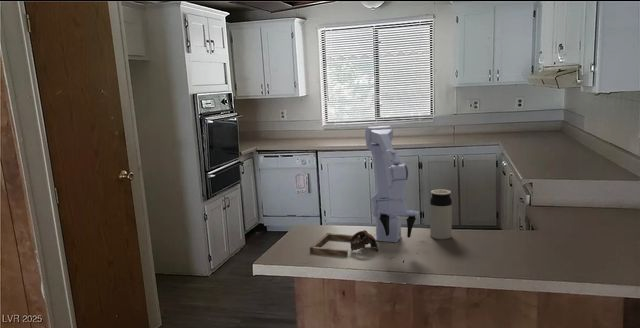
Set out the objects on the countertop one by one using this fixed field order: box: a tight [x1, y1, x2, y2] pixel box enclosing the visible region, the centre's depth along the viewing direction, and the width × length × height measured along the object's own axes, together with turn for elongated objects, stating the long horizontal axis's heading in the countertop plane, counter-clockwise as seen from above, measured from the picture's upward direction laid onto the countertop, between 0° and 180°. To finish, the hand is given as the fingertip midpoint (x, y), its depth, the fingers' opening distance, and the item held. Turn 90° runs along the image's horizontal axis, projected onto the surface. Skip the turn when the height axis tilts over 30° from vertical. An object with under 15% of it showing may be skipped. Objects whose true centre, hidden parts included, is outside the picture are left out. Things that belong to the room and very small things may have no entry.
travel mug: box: [429, 188, 453, 240], centre depth 181 cm, size 8×8×18 cm
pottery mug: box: [349, 230, 379, 252], centre depth 172 cm, size 12×10×8 cm
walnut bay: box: [309, 232, 361, 257], centre depth 176 cm, size 14×17×2 cm
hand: (398, 235), depth 166 cm, fingers open, 7 cm apart
